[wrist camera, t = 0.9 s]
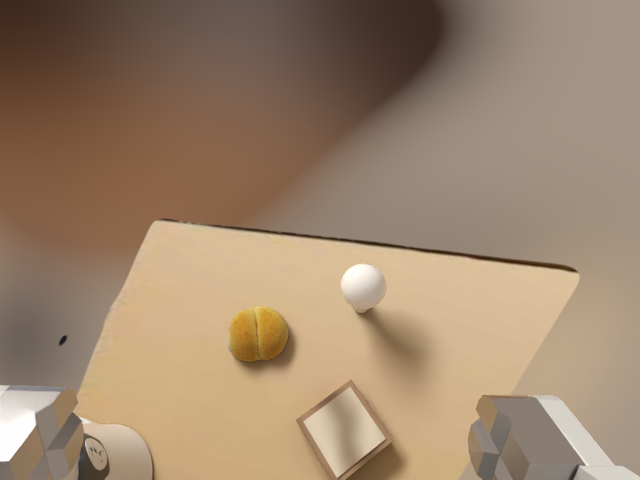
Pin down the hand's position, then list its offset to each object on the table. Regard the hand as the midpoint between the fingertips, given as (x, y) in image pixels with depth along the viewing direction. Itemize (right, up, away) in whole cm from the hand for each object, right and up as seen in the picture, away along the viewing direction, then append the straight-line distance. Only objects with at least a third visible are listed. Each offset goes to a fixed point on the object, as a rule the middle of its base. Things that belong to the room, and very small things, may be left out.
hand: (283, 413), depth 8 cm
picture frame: (+4, -22, +45) cm, 50 cm away
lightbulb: (+7, -7, +54) cm, 55 cm away
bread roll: (-9, -11, +52) cm, 54 cm away
